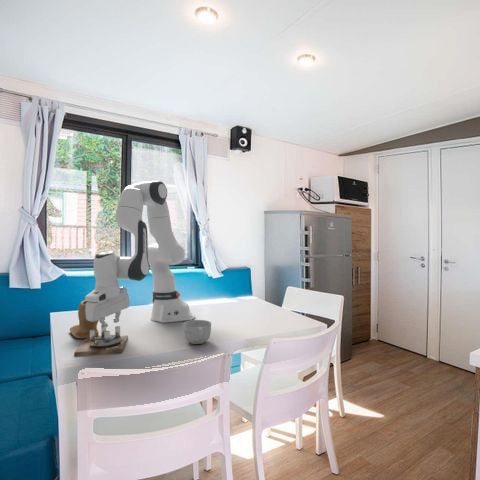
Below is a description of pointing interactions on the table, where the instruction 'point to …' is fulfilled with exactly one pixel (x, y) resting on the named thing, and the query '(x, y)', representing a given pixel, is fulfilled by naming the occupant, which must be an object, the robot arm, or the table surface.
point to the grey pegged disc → (105, 338)
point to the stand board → (88, 350)
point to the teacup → (197, 331)
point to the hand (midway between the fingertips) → (110, 324)
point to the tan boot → (84, 324)
